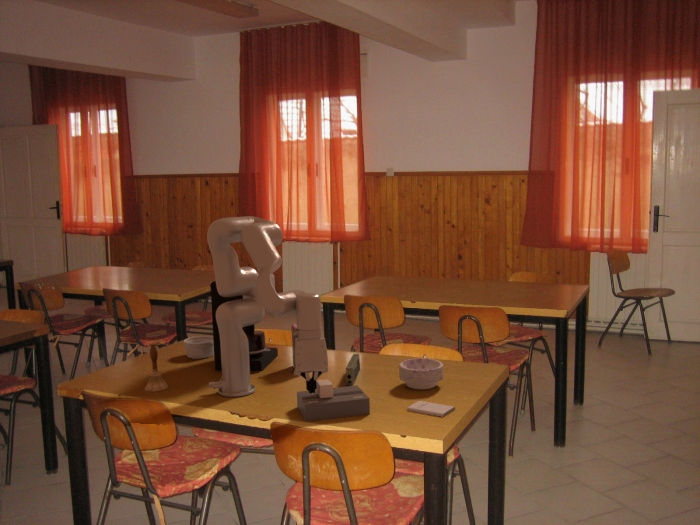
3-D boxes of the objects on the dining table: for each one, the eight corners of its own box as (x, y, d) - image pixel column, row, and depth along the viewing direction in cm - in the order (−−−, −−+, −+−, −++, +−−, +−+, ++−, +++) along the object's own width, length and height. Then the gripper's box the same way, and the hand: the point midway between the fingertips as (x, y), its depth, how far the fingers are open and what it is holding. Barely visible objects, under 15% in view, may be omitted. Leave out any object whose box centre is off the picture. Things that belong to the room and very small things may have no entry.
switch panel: (305, 421, 206) (305, 405, 206) (297, 407, 220) (296, 391, 219) (369, 414, 211) (369, 397, 211) (357, 400, 225) (357, 385, 224)
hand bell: (144, 393, 239) (141, 348, 238) (144, 386, 247) (141, 342, 246) (168, 390, 242) (166, 345, 240) (168, 383, 250) (165, 340, 248)
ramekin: (212, 359, 282) (211, 343, 282) (180, 360, 283) (179, 343, 282) (219, 351, 296) (218, 335, 295) (189, 352, 296) (188, 336, 295)
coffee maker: (260, 374, 258) (256, 282, 254) (210, 374, 261) (205, 282, 257) (279, 355, 285) (276, 271, 281) (234, 355, 288) (230, 272, 284)
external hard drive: (443, 419, 207) (407, 412, 214) (455, 411, 213) (420, 404, 221) (443, 414, 207) (407, 406, 214) (455, 406, 213) (419, 399, 220)
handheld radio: (361, 370, 260) (352, 390, 236) (352, 370, 261) (343, 390, 236) (360, 353, 260) (351, 371, 235) (351, 353, 260) (341, 371, 236)
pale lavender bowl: (419, 395, 228) (419, 372, 227) (390, 385, 240) (390, 363, 239) (453, 386, 237) (452, 363, 236) (423, 377, 249) (422, 355, 248)
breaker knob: (320, 398, 211) (320, 385, 210) (316, 392, 217) (316, 380, 216) (333, 397, 212) (332, 384, 211) (328, 391, 218) (328, 379, 217)
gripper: (287, 338, 205) (289, 398, 208) (336, 334, 209) (337, 393, 211) (283, 333, 213) (285, 391, 215) (330, 329, 216) (332, 386, 218)
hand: (311, 392), depth 213 cm, fingers closed
